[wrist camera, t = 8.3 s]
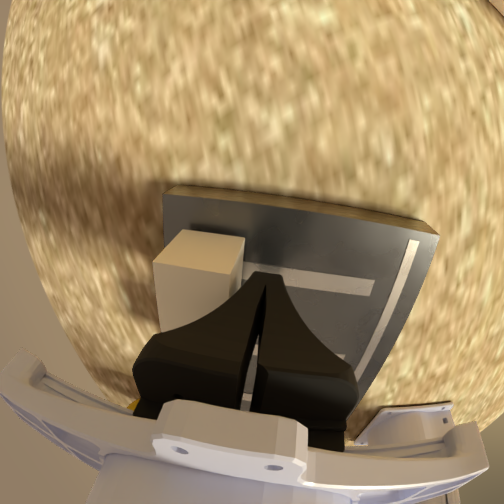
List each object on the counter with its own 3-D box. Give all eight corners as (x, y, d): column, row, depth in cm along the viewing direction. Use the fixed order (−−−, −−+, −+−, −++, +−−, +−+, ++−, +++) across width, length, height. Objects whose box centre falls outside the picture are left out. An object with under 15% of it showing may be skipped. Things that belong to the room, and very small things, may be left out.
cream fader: (244, 237, 13) (230, 274, 10) (239, 307, 15) (225, 351, 12) (182, 229, 13) (152, 261, 10) (184, 297, 15) (161, 338, 12)
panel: (425, 222, 13) (440, 236, 12) (341, 408, 22) (342, 426, 20) (177, 184, 15) (162, 193, 13) (189, 388, 23) (182, 405, 21)
